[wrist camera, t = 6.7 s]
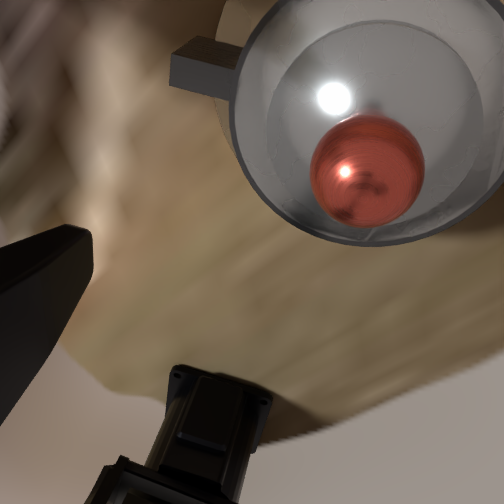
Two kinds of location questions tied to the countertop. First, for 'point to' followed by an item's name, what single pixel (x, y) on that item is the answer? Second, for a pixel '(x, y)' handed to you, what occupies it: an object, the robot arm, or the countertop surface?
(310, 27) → the press pot
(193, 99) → the countertop surface
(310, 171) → the plunger
